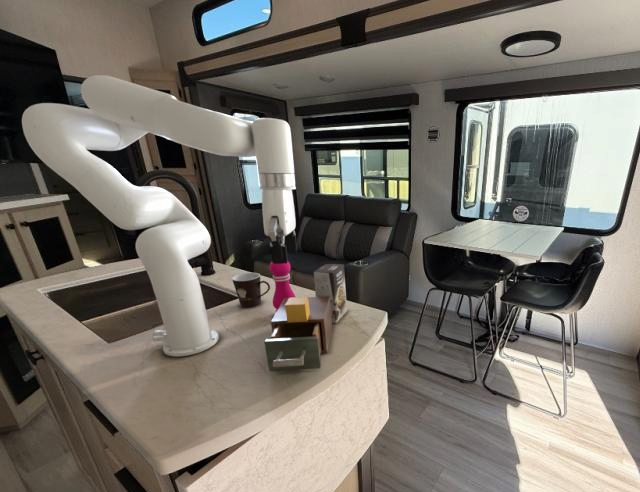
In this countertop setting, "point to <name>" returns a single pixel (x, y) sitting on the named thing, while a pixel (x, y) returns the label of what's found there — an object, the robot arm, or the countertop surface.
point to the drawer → (294, 347)
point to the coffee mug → (248, 289)
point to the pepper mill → (281, 283)
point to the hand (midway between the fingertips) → (285, 257)
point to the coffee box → (332, 288)
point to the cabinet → (310, 317)
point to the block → (297, 309)
